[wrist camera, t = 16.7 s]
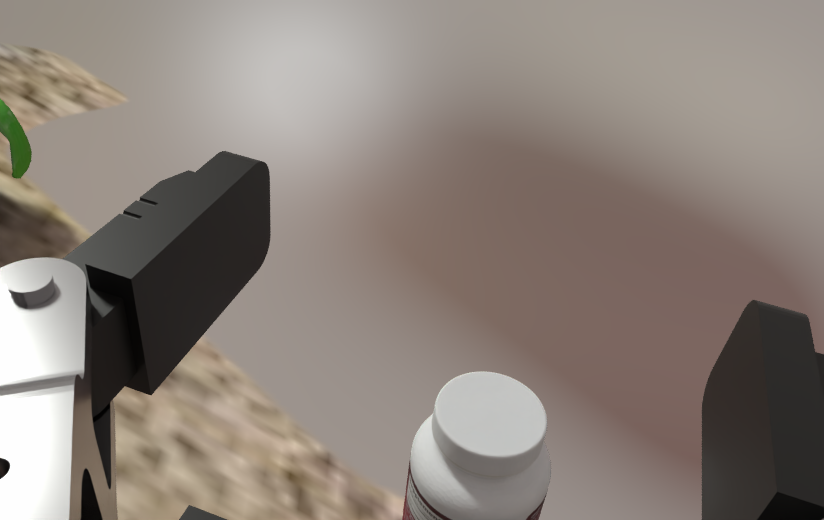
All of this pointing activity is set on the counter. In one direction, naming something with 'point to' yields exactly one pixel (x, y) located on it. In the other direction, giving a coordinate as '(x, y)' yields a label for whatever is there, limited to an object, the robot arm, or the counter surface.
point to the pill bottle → (480, 453)
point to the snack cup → (15, 141)
